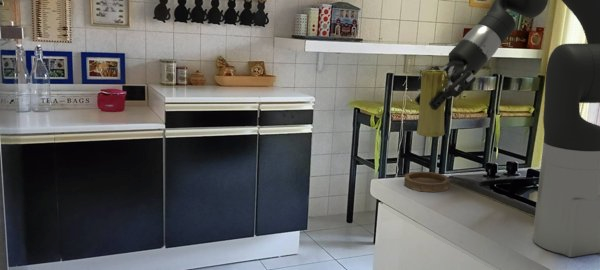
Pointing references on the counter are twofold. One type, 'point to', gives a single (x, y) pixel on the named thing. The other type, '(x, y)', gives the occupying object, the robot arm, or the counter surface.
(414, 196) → the counter surface
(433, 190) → the round tray
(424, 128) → the vase
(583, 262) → the counter surface
